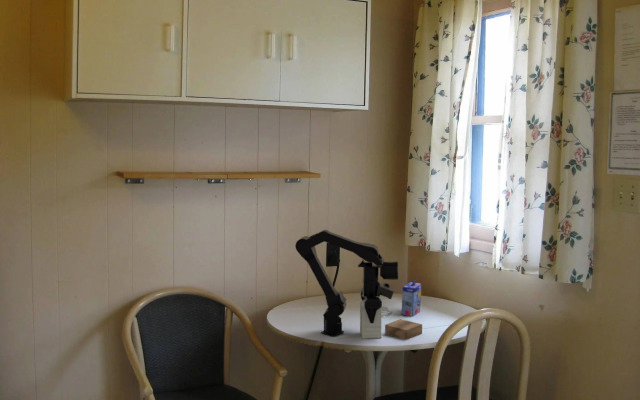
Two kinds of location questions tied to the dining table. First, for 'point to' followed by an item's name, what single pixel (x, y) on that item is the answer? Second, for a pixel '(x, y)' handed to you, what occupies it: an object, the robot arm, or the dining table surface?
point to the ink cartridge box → (411, 299)
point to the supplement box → (365, 326)
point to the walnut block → (403, 329)
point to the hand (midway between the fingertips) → (370, 319)
